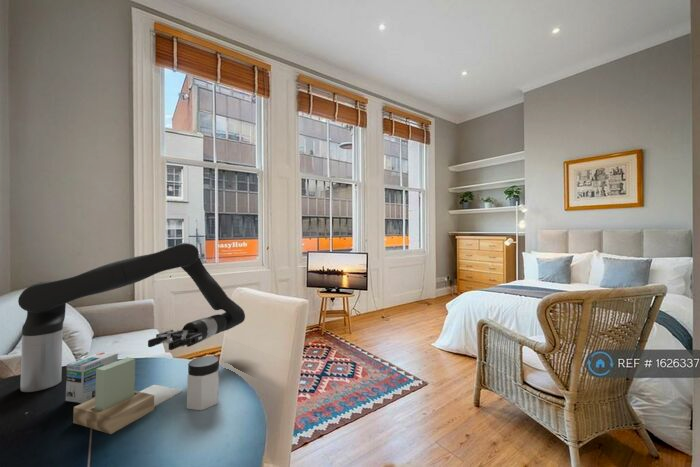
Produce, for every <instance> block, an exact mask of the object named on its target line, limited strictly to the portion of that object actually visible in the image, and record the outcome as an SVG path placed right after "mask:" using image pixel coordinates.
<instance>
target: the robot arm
mask: <svg viewBox="0 0 700 467" xmlns="http://www.w3.org/2000/svg"><path fill="white" fill-rule="evenodd" d="M201 260H202V259H201V258H200V253H199V248H197V246H195V245H194V244H192V243H190V242H181V243H179V244H176V245H174V246H171V247H168V248H165V249H163V250H160V251H157V252H154V253H149V254H144V255H137V256H134V257H130V258H129V257H128V258H126V259H125V258H124V259H122V260H117V261H114V262H110V263H108V264H104V265H101V266H98V267H96V268H93V269H90V270H87V271H86V272H82V273H80V274H77V275H75V276H72V277H67V278H64V279H59V280H54V281H53V280H46V281H45V280H44V281H41V282H38V283H35V284H32V285H30V286H28V287H26V288H25V289H24V290H23V291H22V292H21V293H20V294H19V297H18V301H17V302H18V306H19V307H20V308H21V309H22V310H23V311H26V318H25V321H24V323H23V325H22V331H21V333H22V334H21V356H20V357H21V358H20V359H21V360H20V361H21V362H20V383H19V384H20V385H19V387H20V392H23V393H34V392H39V391H43V390H47V389H49V388H52V387H54V386H57V385H59V384H60V383H61V382H62V368H63V364H62V362H63V360H62V359H63V330H64V329H63V328H64V321H65V318H66V308H67V305H66V304H67V303H69V302H72V301H73V302H74V301H75V300H79V299H81V298H85V297H89V296H93V295H97V294H101V293H105V292H110V291H112V290H116V289H120V288H124V287H126V286H129V285H133V284H136V283H139V282H141V281H143V280H146V279H148V278H150V277H152V276H155V275H156V274H159V273H161V272H165V271H168V270H173V269H179V268H181V269H182V270H183V271H184V272H186V274H187V275H188V276H189V277H190V278H191V279H192V280H193V283H195V285H196V286H197V288H198V290H199V291H200V294H202V296H203V297H204V299H205V300H206V301H207V303H208V304H209V305H210V307H211V308H212V310H213V311H220V310H221V311H224V312H223V313H221V314H220V313H219V314H213V315H211V316H207V317H202V318H198V319H197V320H194V321H190V322H188V323H186V324H184V326H183V327H182V329H177V330H175V329H169V330H166V331H162V332H160V333H157V334H155V337H153V338H151V339H148V341H147V347H148V348H152V347H155V346H158V345H160V344H161V345H162V344H168V351H173V350H176V349H178V348H180V347H182V348H183V347H188V348H189V347H192V346H194V345H196V344H199V343H200V342H203V341H206V340H207V339H209V338H211V337H213V336H215V335H218V334H220V333H222V332H225V331H229V330H230V329H232V328H235V327H236V326H239V325H241V324H242V323H243V322H244V321H245V319H246V314H245V310H243V308H242V307H241V306H240V305H239V304H237V303H236V302H235V301H234V300H232V299H231V298H230V297H229V296H228V295H227V293H226V292H225V291H224V289H223V288H222V287H221V286H220V284H219V283H218V282H217V281H216V279H215V278H214V277H213V276H212V275H211V273H209V271H208V270H207V269H206V267H205V266H204V264H203V262H202V261H201ZM174 330H175V331H174Z"/></svg>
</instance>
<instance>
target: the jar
mask: <svg viewBox="0 0 700 467" xmlns="http://www.w3.org/2000/svg"><path fill="white" fill-rule="evenodd" d="M187 367H188V368H187V370H188V371H187V373H188V374H187V380H186V382H187V388H186V394H187V396H186V399H187V400H186V409H187V410H195V411H203V410H206V409H208V408H210V407H213V406H215V405H217V404H218V401H219V391H220V388H219V387H220V377H219V376H220V358H219V357H217V356H215V355H206V356H200V357H196V358H193V359H192V360H189V362H188V364H187Z"/></svg>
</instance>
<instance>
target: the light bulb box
mask: <svg viewBox="0 0 700 467" xmlns="http://www.w3.org/2000/svg"><path fill="white" fill-rule="evenodd" d="M118 355H119V354H118V353H116V352H115V353H114V352H108V351H107V352H106V351H100V352H97V353H95V354H92V355H90V356H86V357H84V358H81V359H78V360H76V361H72V362H69V363H67V364H66V379H65V383H66V384H65V385H66V386H65V401H66V402H72V403H79V404H82V403H84V402H86V401H89V400H91V399H93V398H95V392H96V369H97V368H99V367H102V366H105V365H108V364H110V363H113V362H116V361H119V360H118V357H119V356H118Z"/></svg>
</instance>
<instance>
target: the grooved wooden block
mask: <svg viewBox="0 0 700 467" xmlns="http://www.w3.org/2000/svg"><path fill="white" fill-rule="evenodd" d="M153 411H155V407H154V395H151V394H147V393H142V392H140V391H138V390H135V392H134V396H132V397H130V398H128V399H126V400H124V401H122V402H120V403H118V404H116V405H114V406H112V407H110V408H108V409H106V410H104V411H101V412H97V411H95V398H93V399H91V400H89V401H86V402H84V403H79V404H78V405H75V406H73V412H72V413H73V414H72V415H73V416H72V418H73V422H72V423H73V424H76V425H79V426H83V427H86V428H90V429H93V430H95V431H99V432H103V433H105V434H109V435H112V434H114V433H116V432H118V431H119V430H121V429H123V428H124V427H127V426H128V425H130V424H131V423H134V422H135V421H137V420H138V419H140V418H142V417H144V416H145V415H147V414H149V413H151V412H153Z"/></svg>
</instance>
